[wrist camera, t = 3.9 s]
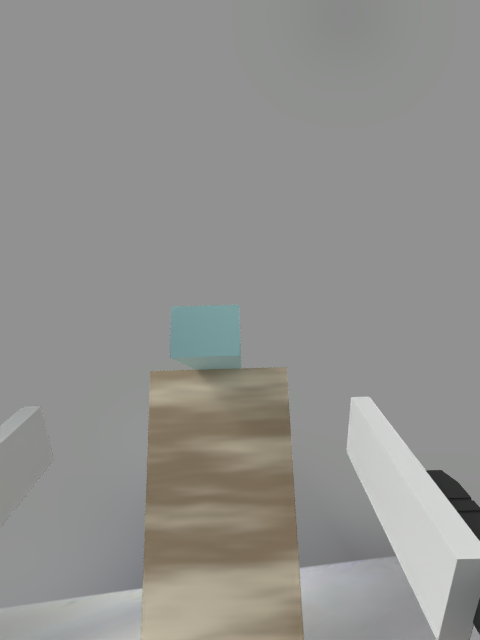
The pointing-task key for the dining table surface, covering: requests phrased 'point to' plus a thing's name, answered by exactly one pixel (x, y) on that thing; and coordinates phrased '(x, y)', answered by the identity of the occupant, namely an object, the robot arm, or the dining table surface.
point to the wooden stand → (220, 508)
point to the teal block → (206, 336)
